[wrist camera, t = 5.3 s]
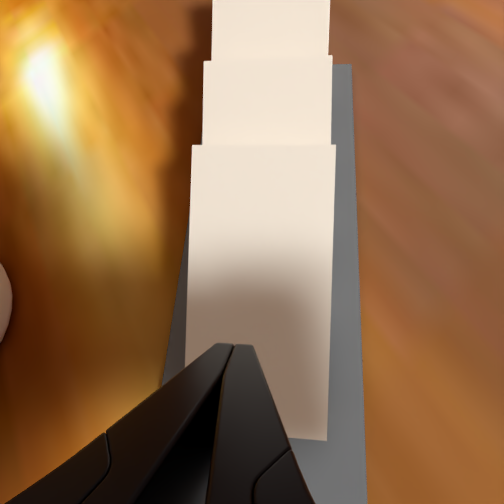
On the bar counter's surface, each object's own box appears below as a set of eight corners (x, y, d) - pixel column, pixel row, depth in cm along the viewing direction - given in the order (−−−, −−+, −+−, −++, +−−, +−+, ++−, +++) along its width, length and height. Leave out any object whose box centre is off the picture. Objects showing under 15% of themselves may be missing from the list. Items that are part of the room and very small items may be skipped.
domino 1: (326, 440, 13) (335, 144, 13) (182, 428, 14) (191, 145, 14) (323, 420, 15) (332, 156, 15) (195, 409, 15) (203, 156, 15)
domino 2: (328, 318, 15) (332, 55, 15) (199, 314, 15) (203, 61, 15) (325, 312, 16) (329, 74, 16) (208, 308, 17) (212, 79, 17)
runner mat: (368, 603, 13) (371, 608, 12) (135, 571, 14) (131, 575, 13) (350, 70, 22) (351, 64, 22) (213, 73, 23) (212, 67, 23)
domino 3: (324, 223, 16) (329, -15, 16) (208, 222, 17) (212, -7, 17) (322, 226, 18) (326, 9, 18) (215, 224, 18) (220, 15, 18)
